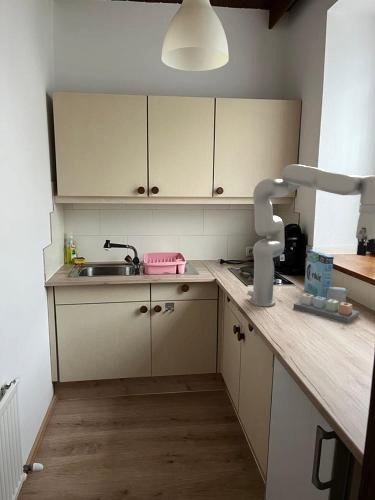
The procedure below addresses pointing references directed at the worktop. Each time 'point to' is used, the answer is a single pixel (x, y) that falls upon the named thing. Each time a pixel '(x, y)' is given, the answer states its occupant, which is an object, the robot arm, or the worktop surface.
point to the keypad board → (326, 312)
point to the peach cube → (345, 308)
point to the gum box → (318, 273)
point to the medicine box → (336, 294)
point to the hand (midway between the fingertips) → (365, 253)
